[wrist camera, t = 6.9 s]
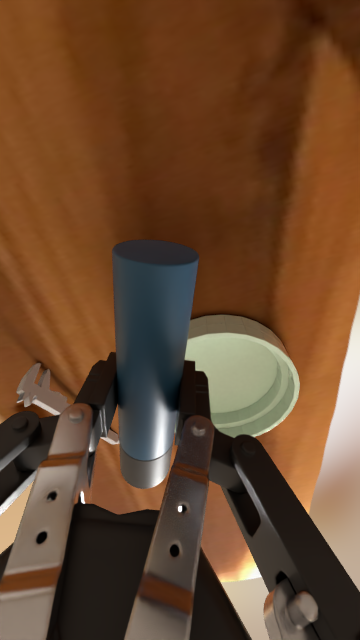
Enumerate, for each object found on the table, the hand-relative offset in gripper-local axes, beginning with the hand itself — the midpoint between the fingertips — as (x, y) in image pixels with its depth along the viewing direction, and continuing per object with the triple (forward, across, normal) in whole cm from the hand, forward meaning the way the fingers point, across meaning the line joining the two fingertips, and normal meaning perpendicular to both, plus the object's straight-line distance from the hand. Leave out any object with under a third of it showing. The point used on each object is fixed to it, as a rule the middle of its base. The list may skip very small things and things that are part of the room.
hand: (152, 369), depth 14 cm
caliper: (+17, +12, +24) cm, 32 cm away
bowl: (+17, -8, +14) cm, 23 cm away
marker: (0, 0, 0) cm, 0 cm away
